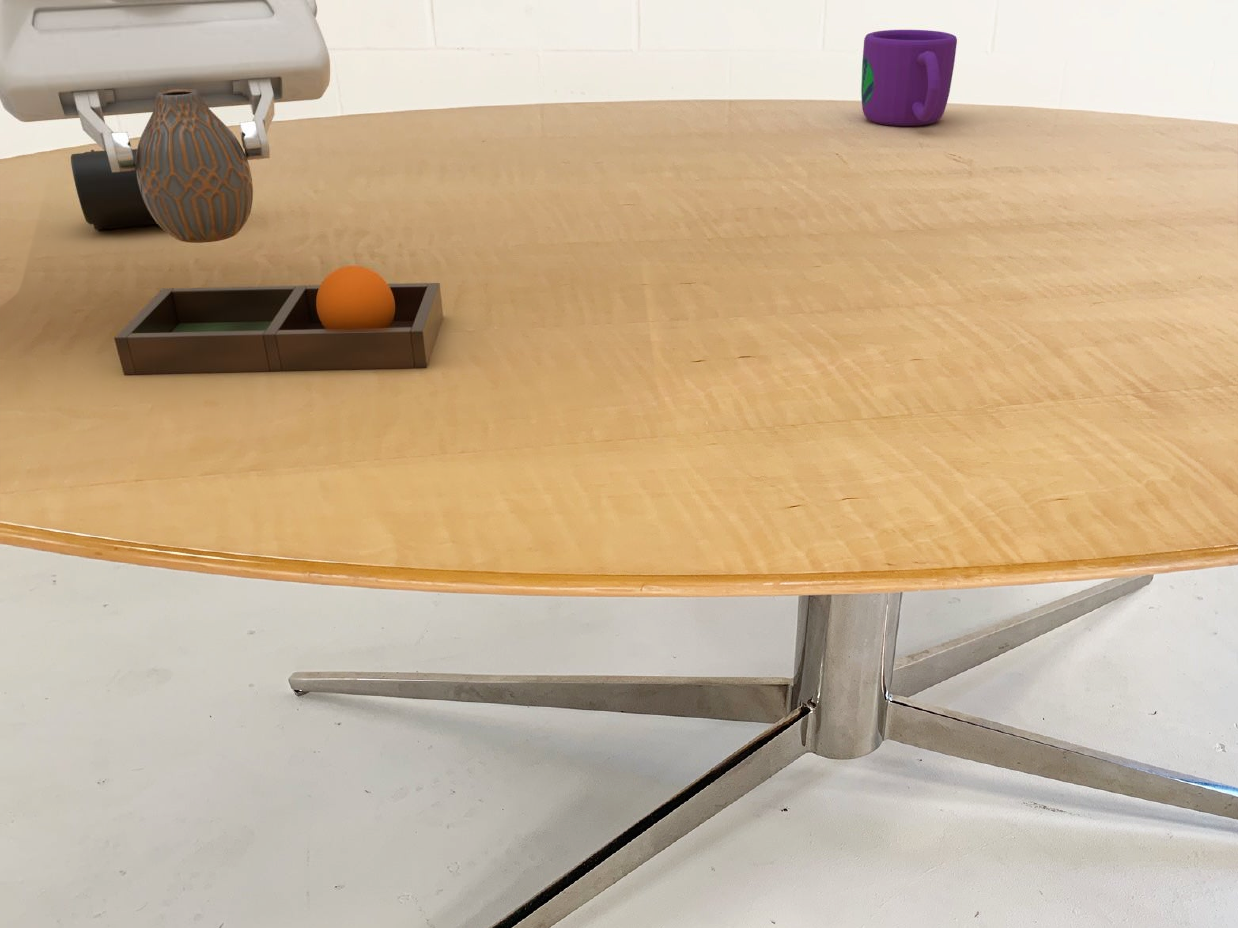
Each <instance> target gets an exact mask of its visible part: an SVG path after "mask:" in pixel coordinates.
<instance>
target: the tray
mask: <svg viewBox="0 0 1238 928" xmlns="http://www.w3.org/2000/svg"><path fill="white" fill-rule="evenodd" d="M387 284H388V286H389V287H390V289H391V291H392V293H393V296H394V301H395V314H394V319H393V322H392V324H391V326H390V328H359V329H325V327H324V326H323V325H322V323H321V321H320V319H319V316H318V313H317V307H316V298H317V293H318V290H319V287H320V285H321V284H313V285H311V284H309V285H308V284H307V285H270V286H268V285H265V286H223V287H222V286H219V287H216V286H215V287H176V288H173V287H169V288H168V287H167V288H166V287H165V288H162V289H161V290H160V291H159V292H158V293H157V294H156V295H155V296H154V297H153V298H152V299H151V300H150V301H149V302H148V303H147V304H146V305H145V306H144V307H143V308H142V309H141V310H140V311H139V312H138V313H137V314H136V315H135V316H134V317H133V318H132V320H130V321H129V322H128V323H127V324H126V325H125V326H124V328H122V329H121V330H120V331H119V333H117V334H116V335H115V336H114V343H115V347H116V350H117V355H118V358H119V362H120V365H121V369H122V373H123V375H124V376H125V377H126V376H162V375H164V376H167V375H168V376H169V375H206V374H207V375H208V374H209V375H210V374H247V373H249V374H250V373H252V374H253V373H289V372H290V373H292V372H294V373H295V372H298V373H299V372H334V371H335V372H337V371H338V372H340V371H373V370H374V371H376V370H377V371H378V370H381V371H382V370H383V371H384V370H415V369H416V370H420V369H421V370H422V369H423V370H424V369H425V370H426V369H428V366H429V363H430V360H431V357H432V354H433V350H434V347H435V344H436V341H437V338H438V335H439V333H440V328H441V326H442V322H443V320H444V311H443V302H442V292H441V283H440V282H412V283H411V282H410V283H409V282H408V283H405V282H404V283H387Z"/></svg>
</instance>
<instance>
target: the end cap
mask: <svg viewBox="0 0 1238 928" xmlns="http://www.w3.org/2000/svg"><path fill="white" fill-rule="evenodd" d="M132 153H133V157H134V161H135V166H136V155H137V148H133V149H132ZM70 164H71V170H72V176H73V181H74V185H75V189H76V194H77V198H78V202H79V205H80V208H81V211H82V214H83V217H84V220H85V222H86V223H87V224H88V225H90V226H91V225H93V228H94V230H95V231H98V230H99V231H100V230H110V229H120V228H131V227H140V226H152V225H158V224H157V223H156V221H155V220H154V218H153V217H152V216H151V214H150V212H149V211H148V209H147V207H146V205H145V203H144V200H143V198H142V195H141V192H140V188H139V184H138V180H137V173H136V170H133V171H122V172H121V171H120V172H113V173H112V170H111V167H110V163H109V159H108V155H107V151H105V150H94V149H91V150H90V151H85V152H77V153H72V154H71V155H70ZM118 164H119V163H118ZM119 168H120V167H119Z"/></svg>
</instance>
